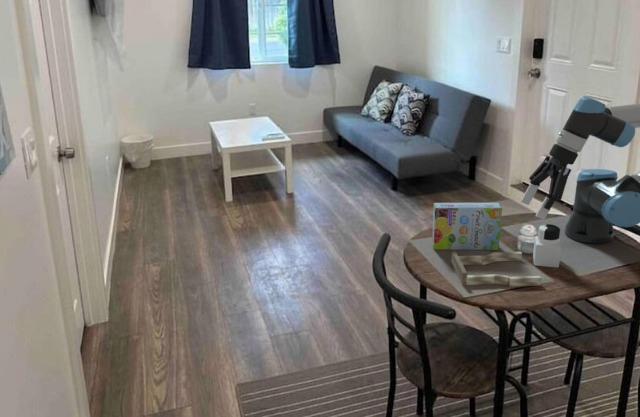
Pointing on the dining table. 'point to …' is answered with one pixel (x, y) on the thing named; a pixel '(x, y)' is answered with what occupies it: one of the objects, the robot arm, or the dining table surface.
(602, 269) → the dining table surface
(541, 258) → the medicine bottle
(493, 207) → the snack box
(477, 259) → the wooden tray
